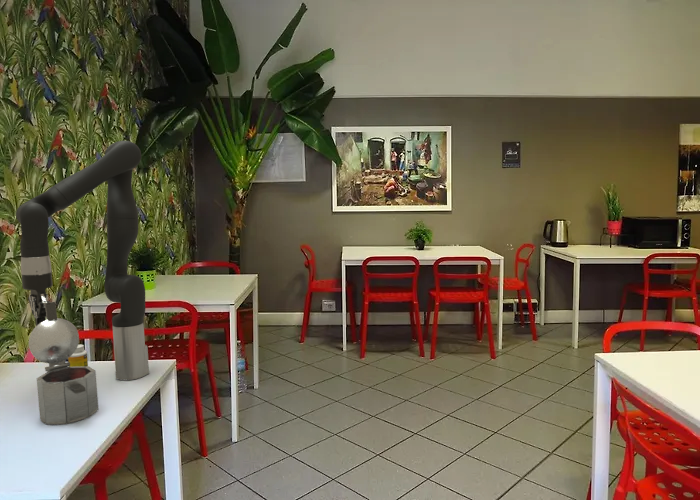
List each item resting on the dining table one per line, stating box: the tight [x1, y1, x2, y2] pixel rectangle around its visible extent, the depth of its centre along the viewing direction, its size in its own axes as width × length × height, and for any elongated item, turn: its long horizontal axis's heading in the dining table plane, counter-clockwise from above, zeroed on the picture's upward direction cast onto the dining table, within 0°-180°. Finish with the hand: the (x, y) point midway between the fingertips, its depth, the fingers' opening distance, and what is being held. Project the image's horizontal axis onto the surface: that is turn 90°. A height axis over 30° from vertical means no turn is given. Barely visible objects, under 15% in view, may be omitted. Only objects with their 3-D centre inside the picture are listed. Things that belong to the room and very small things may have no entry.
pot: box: [36, 365, 99, 426], centre depth 140 cm, size 14×18×11 cm
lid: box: [28, 301, 80, 372], centre depth 146 cm, size 12×19×2 cm
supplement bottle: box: [67, 344, 89, 367], centre depth 170 cm, size 6×6×10 cm
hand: (41, 330), depth 153 cm, fingers closed
